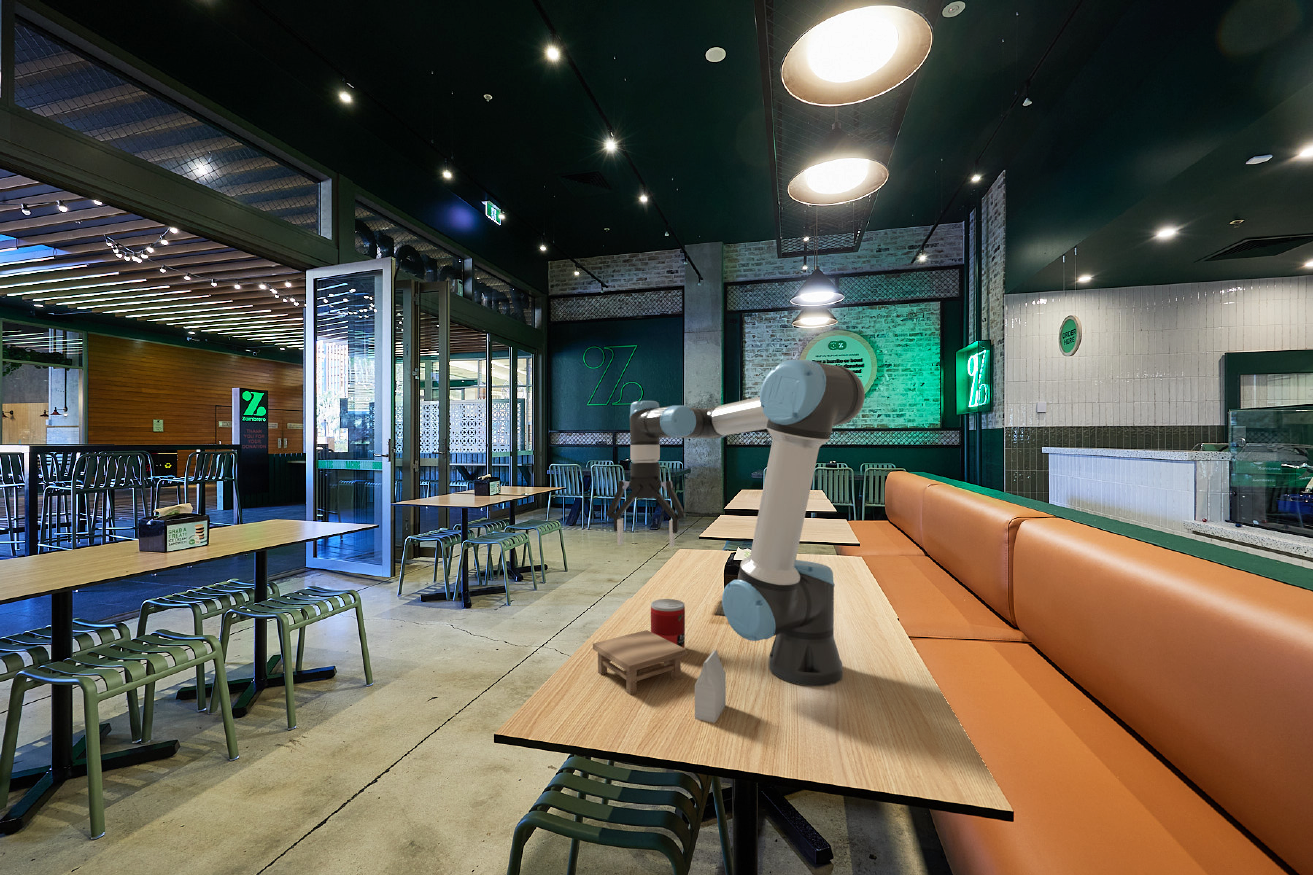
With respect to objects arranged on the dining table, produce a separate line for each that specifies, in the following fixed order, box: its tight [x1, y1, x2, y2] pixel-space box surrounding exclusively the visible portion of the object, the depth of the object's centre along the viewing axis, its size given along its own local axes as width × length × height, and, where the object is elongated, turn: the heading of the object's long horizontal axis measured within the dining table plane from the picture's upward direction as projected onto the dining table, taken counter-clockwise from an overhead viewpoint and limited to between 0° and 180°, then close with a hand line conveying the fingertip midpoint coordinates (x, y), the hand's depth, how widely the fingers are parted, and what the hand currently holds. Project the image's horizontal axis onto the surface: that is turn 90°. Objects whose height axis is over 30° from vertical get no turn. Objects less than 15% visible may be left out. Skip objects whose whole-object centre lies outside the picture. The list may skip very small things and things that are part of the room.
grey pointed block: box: [694, 649, 727, 724], centre depth 95 cm, size 4×7×10 cm, turn 157°
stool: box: [592, 629, 687, 695], centre depth 110 cm, size 14×14×6 cm
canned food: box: [650, 598, 686, 649], centre depth 124 cm, size 8×8×11 cm
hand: (645, 545), depth 135 cm, fingers open, 13 cm apart
